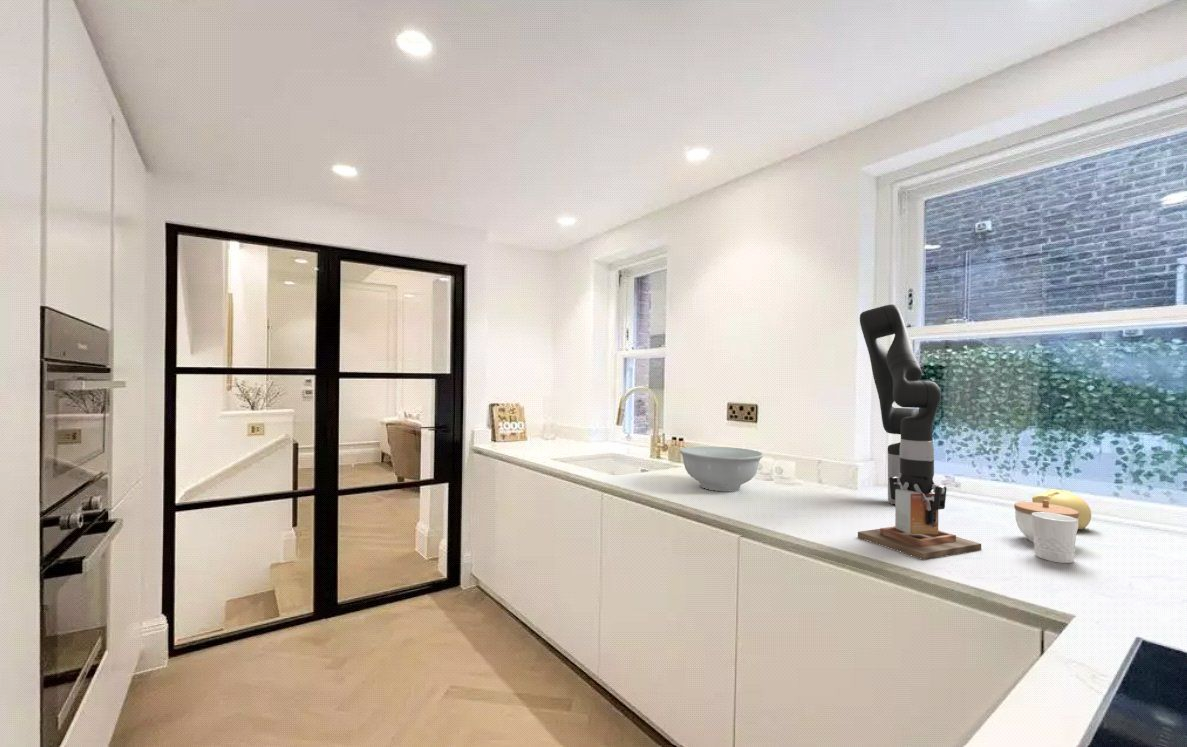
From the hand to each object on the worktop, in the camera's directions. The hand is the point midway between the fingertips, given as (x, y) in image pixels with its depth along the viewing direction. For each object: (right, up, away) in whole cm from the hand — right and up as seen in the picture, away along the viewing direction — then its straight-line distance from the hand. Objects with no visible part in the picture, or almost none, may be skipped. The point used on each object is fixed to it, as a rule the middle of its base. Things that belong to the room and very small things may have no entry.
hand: (916, 520), depth 128 cm
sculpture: (+53, -7, +16) cm, 56 cm away
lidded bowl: (+35, -6, +2) cm, 36 cm away
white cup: (+26, -6, -11) cm, 29 cm away
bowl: (-34, -7, +67) cm, 76 cm away
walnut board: (0, -6, 0) cm, 6 cm away
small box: (0, -3, 0) cm, 3 cm away
